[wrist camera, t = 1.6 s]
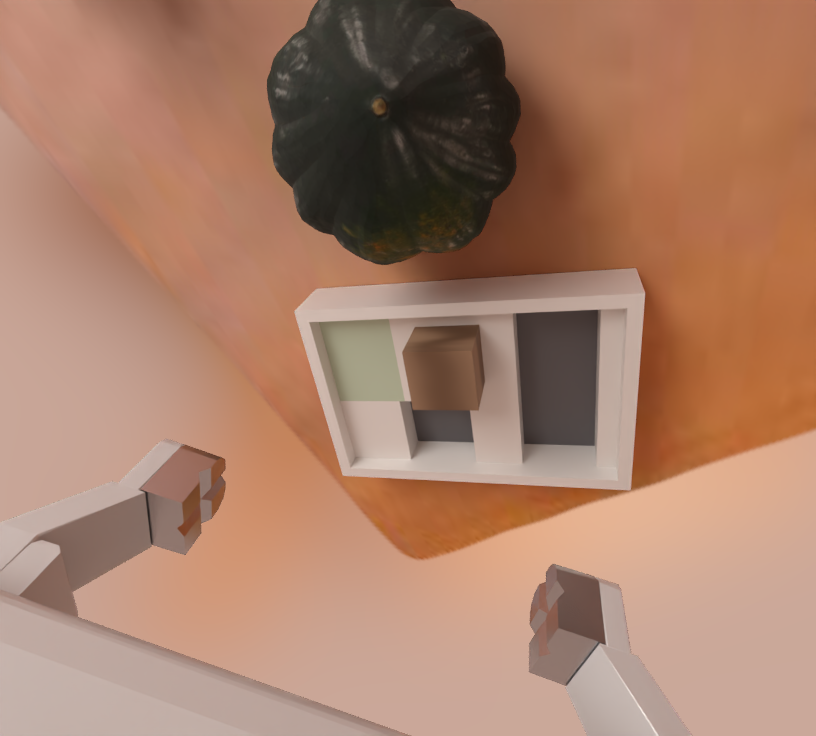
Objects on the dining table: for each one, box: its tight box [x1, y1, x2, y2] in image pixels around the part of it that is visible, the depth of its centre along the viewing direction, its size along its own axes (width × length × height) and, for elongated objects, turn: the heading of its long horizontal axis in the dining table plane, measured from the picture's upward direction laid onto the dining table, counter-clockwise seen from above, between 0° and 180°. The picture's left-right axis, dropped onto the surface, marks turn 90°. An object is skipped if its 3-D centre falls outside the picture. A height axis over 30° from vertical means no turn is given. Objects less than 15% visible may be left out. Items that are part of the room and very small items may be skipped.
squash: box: [267, 0, 521, 265], centre depth 30 cm, size 14×15×15 cm
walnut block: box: [402, 325, 485, 411], centre depth 38 cm, size 5×5×4 cm
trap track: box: [294, 268, 645, 490], centre depth 42 cm, size 25×17×4 cm
